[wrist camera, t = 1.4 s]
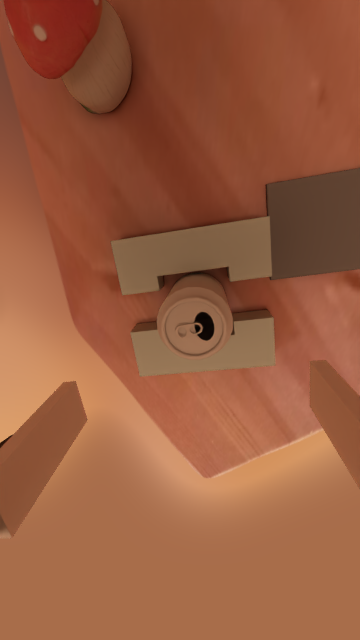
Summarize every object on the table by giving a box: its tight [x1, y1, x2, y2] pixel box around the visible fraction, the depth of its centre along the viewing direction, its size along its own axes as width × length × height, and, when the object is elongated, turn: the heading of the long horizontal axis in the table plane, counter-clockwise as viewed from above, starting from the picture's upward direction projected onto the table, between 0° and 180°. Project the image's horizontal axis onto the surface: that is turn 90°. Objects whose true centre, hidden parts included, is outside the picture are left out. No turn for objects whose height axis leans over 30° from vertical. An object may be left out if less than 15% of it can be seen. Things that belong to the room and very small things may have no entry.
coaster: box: [266, 168, 360, 280], centre depth 31 cm, size 11×11×1 cm
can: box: [157, 273, 233, 360], centre depth 30 cm, size 8×8×12 cm
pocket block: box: [111, 216, 275, 376], centre depth 33 cm, size 18×18×4 cm
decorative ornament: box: [4, 0, 132, 114], centre depth 21 cm, size 9×7×15 cm
